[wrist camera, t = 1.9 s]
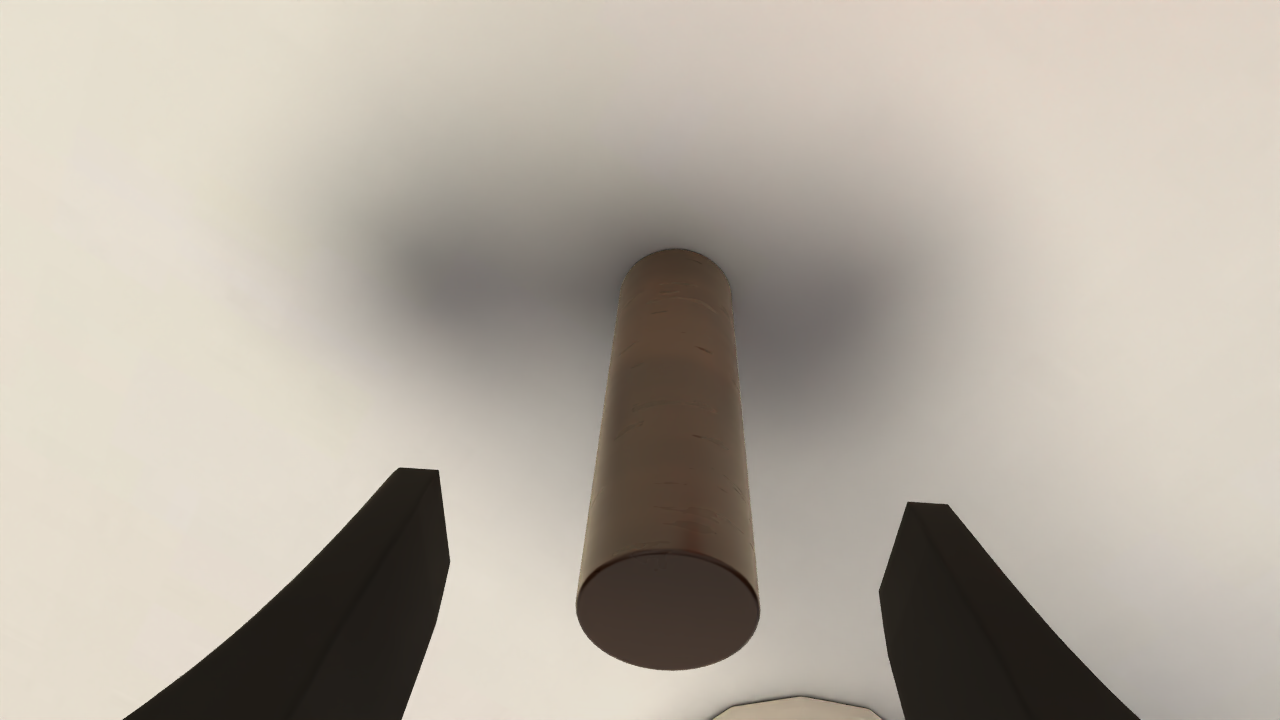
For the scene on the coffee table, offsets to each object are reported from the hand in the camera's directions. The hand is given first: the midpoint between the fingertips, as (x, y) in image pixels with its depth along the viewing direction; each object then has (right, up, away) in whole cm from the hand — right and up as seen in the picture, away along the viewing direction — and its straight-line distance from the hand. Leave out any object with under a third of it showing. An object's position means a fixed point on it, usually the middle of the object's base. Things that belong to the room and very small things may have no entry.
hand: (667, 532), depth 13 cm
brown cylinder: (0, +4, +6) cm, 7 cm away
